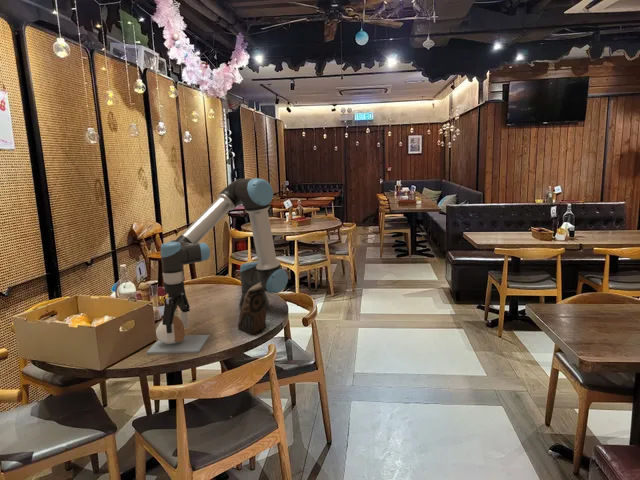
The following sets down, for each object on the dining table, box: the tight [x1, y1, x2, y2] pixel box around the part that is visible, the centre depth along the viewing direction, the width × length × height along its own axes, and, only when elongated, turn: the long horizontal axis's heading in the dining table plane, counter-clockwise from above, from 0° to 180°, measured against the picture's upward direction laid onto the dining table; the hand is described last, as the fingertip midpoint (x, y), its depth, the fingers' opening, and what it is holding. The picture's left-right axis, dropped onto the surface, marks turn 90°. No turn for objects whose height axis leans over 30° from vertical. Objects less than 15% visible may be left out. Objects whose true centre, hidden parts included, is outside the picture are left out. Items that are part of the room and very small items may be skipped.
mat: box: [146, 334, 210, 355], centre depth 176 cm, size 20×16×1 cm
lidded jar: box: [155, 315, 186, 344], centre depth 175 cm, size 11×11×9 cm
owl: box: [237, 282, 267, 336], centre depth 187 cm, size 13×13×20 cm
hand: (178, 333), depth 175 cm, fingers open, 13 cm apart
